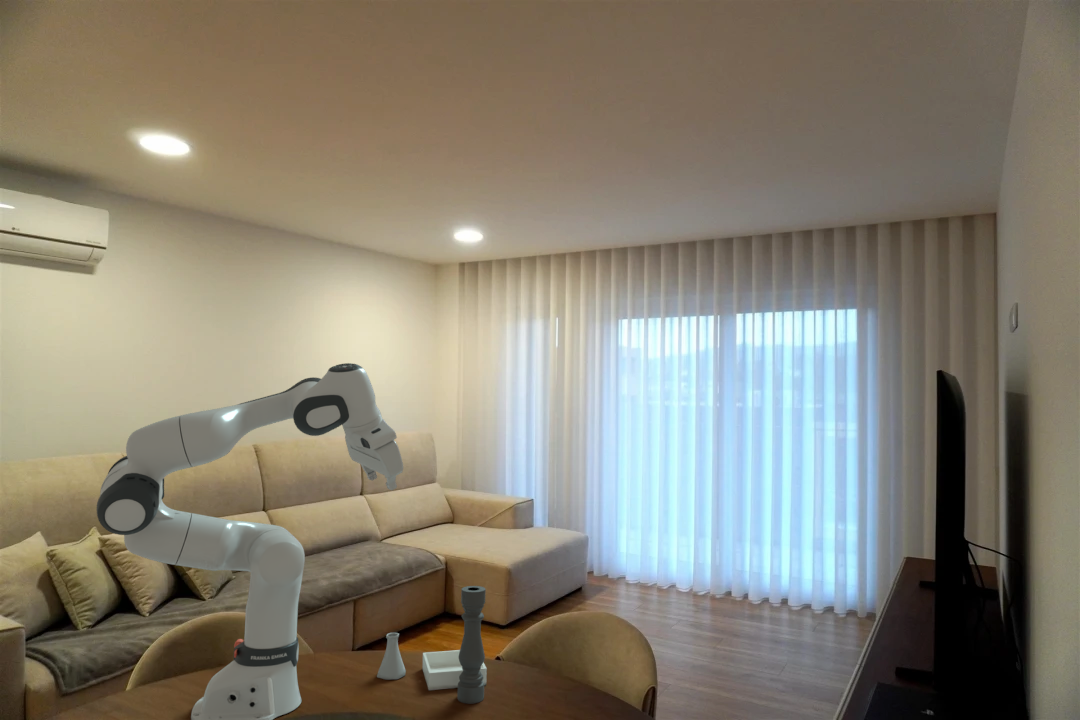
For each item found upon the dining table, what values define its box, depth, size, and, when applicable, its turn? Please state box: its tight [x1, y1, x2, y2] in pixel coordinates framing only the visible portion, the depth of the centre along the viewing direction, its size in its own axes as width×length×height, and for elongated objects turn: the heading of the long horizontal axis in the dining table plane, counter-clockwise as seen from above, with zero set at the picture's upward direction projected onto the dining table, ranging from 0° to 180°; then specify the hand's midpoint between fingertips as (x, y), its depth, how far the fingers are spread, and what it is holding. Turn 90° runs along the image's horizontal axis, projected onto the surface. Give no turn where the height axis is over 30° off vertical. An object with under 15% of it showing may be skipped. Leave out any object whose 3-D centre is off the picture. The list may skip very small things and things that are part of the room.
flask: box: [376, 632, 407, 680], centre depth 176 cm, size 7×7×10 cm
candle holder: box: [456, 585, 487, 705], centre depth 164 cm, size 6×6×25 cm
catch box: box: [421, 649, 488, 691], centre depth 176 cm, size 14×14×4 cm
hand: (382, 483), depth 163 cm, fingers open, 8 cm apart
